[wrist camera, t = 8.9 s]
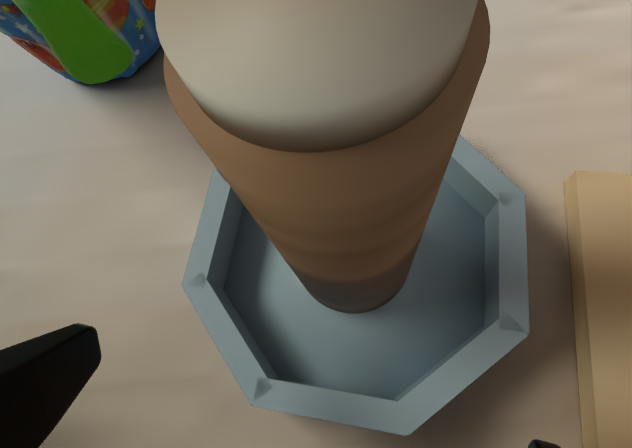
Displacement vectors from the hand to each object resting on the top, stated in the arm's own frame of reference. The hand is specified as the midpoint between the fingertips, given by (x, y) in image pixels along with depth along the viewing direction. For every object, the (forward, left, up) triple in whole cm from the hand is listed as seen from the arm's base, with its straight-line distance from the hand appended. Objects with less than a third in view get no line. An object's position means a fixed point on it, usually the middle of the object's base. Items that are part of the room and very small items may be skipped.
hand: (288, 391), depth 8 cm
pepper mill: (+5, 0, -7) cm, 9 cm away
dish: (+5, 0, -8) cm, 9 cm away
